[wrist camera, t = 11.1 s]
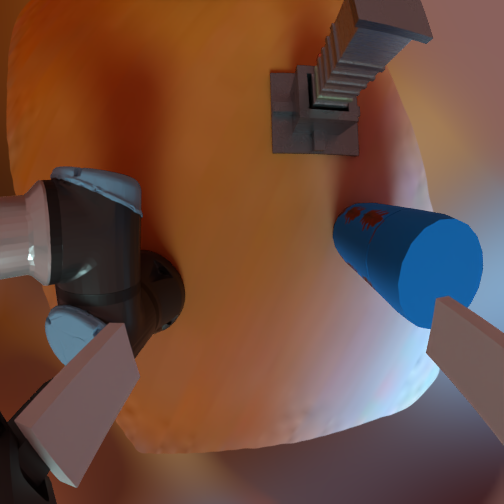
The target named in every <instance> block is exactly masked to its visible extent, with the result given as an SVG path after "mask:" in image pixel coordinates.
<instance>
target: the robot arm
mask: <svg viewBox="0 0 504 504" xmlns="http://www.w3.org/2000/svg"><path fill="white" fill-rule="evenodd" d="M50 178H51V180H38V181H37V182H36V183H35V184H34V185H33V186H32V187H31V189H30V190H29V191H28V192H27V193H26V194H24V195H18V196H6V197H0V279H4V278H10V277H16V276H22V275H31V276H33V277H34V278H35V279H36V280H38V281H39V282H40V283H41V284H43V285H52V284H55V288H56V296H57V303H58V306H55V307H54V308H52V309H51V311H50V313H49V316H48V317H47V319H46V323H45V331H46V336H47V339H48V341H49V344H50V346H51V348H52V349H53V351H54V353H55V355H56V356H57V357H58V358H59V359H60V361H61V362H62V363H63V364H64V365H65V367H64V368H63V369H62V370H61V371H60V372H59V373H58V374H57V375H56V376H55V377H54V378H52V379H51V380H49V381H47V382H45V383H44V384H43V385H42V386H41V387H40V388H39V389H38V390H37V391H36V393H34V394H33V396H32V397H30V400H28V401H27V402H26V403H25V404H24V405H23V406H22V407H21V408H20V409H19V410H18V411H17V412H16V414H15V415H14V416H13V417H12V418H11V419H10V420H9V421H8V422H6V420H5V418H4V417H3V415H2V414H1V412H0V504H57V503H56V499H55V495H54V492H53V488H52V483H51V481H50V479H49V477H48V476H47V474H48V472H49V471H50V470H51V471H52V473H53V474H54V475H55V476H56V477H57V478H58V479H59V480H60V481H62V482H64V483H66V484H69V485H71V486H74V487H76V488H77V487H78V485H79V483H80V481H81V479H82V477H83V476H84V474H85V472H86V470H87V468H88V466H89V465H90V463H91V461H92V459H93V457H94V456H95V454H96V452H97V450H98V449H99V447H100V445H101V443H102V441H103V440H104V438H105V436H106V434H107V432H108V431H109V429H110V427H111V425H112V424H113V422H114V420H115V419H116V417H117V415H118V413H119V412H120V410H121V408H122V407H123V405H124V403H125V401H126V400H127V398H128V396H129V395H130V393H131V391H132V390H133V388H134V386H135V384H136V383H137V381H138V379H139V378H140V375H139V372H138V369H137V365H136V362H135V358H136V356H137V355H138V354H139V352H140V351H141V349H142V348H143V347H144V345H145V344H146V343H147V341H148V340H149V339H150V337H151V336H152V334H155V333H158V332H160V331H163V330H165V329H167V328H168V327H170V326H171V325H172V324H173V323H174V322H175V321H176V319H177V318H178V316H179V315H180V313H181V311H182V309H183V306H184V302H185V290H184V285H183V282H182V279H181V277H180V275H179V273H178V272H177V270H176V269H175V267H174V266H173V265H172V264H171V263H170V262H169V261H168V260H167V259H165V258H164V257H162V256H161V255H159V254H157V253H154V252H151V251H146V250H140V238H141V218H142V217H143V213H142V211H141V187H140V185H139V183H138V182H137V181H136V180H135V179H134V178H132V177H130V176H127V175H124V174H119V173H115V172H110V171H105V170H98V169H91V168H82V169H81V168H76V167H56V168H55V169H54V170H53V172H52V174H51V177H50ZM426 353H427V354H428V356H429V357H430V358H431V359H432V360H433V361H434V362H435V363H436V364H437V366H438V367H439V368H440V369H441V370H442V371H443V372H444V373H445V375H446V376H447V377H448V378H449V379H450V380H451V381H452V383H453V384H454V385H455V386H456V387H457V388H458V389H459V390H460V392H461V393H462V394H463V395H464V397H465V398H466V399H467V400H468V401H469V403H470V404H471V405H472V406H473V407H474V409H475V410H476V411H477V412H478V414H479V415H480V416H481V417H482V419H483V420H484V421H485V422H486V423H487V425H488V426H489V427H490V429H491V430H492V431H493V432H494V434H495V435H496V436H497V438H498V439H499V440H500V442H501V443H502V444H503V445H504V333H503V332H501V331H500V330H499V329H497V328H496V327H494V326H493V325H491V324H490V323H488V322H487V321H486V320H484V319H483V318H481V317H480V316H478V315H477V314H475V313H474V312H472V311H471V310H469V309H468V308H466V307H465V306H463V305H462V304H460V303H459V302H457V301H456V300H454V299H453V298H451V297H450V296H446V297H440V298H436V301H435V308H434V314H433V320H432V326H431V331H430V336H429V341H428V346H427V351H426Z"/></svg>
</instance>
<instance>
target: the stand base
mask: <svg viewBox="0 0 504 504" xmlns="http://www.w3.org/2000/svg"><path fill="white" fill-rule="evenodd" d="M320 56H321V54H318V57H320ZM318 57H317V59H318ZM317 59H316V62H317ZM313 73H314V66H304V65H297V67H296V71H295V73H270V81H271V110H272V147H273V153H288V154H327V155H346V156H359V145H358V127H357V122H358V117H360V107H358V106H357V97H356V96H355V97H354V98H353V101H352V102H349V103H348V104H347V107H346V108H343V109H342V110H341V111H334V110H319V109H311V95H310V81H311V74H313Z"/></svg>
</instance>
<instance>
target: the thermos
mask: <svg viewBox="0 0 504 504" xmlns="http://www.w3.org/2000/svg"><path fill="white" fill-rule="evenodd" d="M333 239H334V244H335V247H336V249H337V251H338V252H339V254H340V255H341V257H342V258H343V259H344V260H345V262H346V263H347V264H348V265H350V266H351V267H352V268H353V269H354V270H355V271H356V272H357V273H358V274H359V275H360V276H361V277H362V278H363V279H364V280H365V281H366V282H368V283H369V284H370V285H371V286H372V287H373V288H374V289H375V290H376V291H377V292H378V293H379V294H380V295H381V296H382V297H383V298H384V299H385V300H386V301H387V302H388V303H389V304H390V305H391V306H392V307H393V308H394V309H395V310H396V311H397V312H398V313H400V314H401V315H402V316H403V317H405V318H406V319H407V320H409V321H410V322H412V323H413V324H415V325H416V326H418V327H422V328H427V329H431V326H432V320H433V314H434V308H435V301H436V298H440V297H446V296H450V297H451V298H453V299H454V300H456V301H457V302H459V303H460V304H462V305H463V306H465V307H466V308H467V307H468V306H469V305H470V304H471V302H472V300H473V298H474V296H475V294H476V292H477V290H478V288H479V284H480V280H481V276H482V271H483V257H482V256H483V255H482V249H481V246H480V243H479V240H478V237H477V236H476V234H475V233H474V232H473V231H472V229H471V228H470V227H469V225H467V224H465V223H463V222H461V221H459V220H457V219H455V218H452V217H450V216H448V215H445V214H441V213H435V212H429V211H424V210H418V209H411V208H405V207H399V206H392V205H385V204H378V203H358V204H354V205H352V206H350V207H347V208H346V209H345V210H344V211H343V212H342V213H341V214H340V215H339V216H338V218H337V220H336V223H335V225H334V231H333Z"/></svg>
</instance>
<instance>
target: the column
mask: <svg viewBox="0 0 504 504" xmlns="http://www.w3.org/2000/svg"><path fill="white" fill-rule="evenodd" d="M330 30H331V32H330V35H329V36H327V37H326V39H325V42H326V44H325V47H322V49H321V56H320V57H318V59H317V66H314V73H313V74H311V81H310V95H311V109H319V110H334V111H341V110H342V109H343V108H346V107H347V104H348V103H349V102H352V101H353V98H354V97H355V96H358V95H359V94H360V93H359V92H360V91H361V90H362V89H365V88H366V87H367V83H368V82H369V81H374V80H375V75H376V74H377V73H378V72H383V71H384V70H385V65H386V64H387V63H388V62H390V60H392V59H393V58H394V56H396V55H397V54H398V53H399V52H400V51H401V50H402V49H403V48H404V47H405V46H406V45H407V44H408V43H409V42H410V41H411V40H415V41H419V42H422V43H425V44H427V43H428V42H429V41H430V40H432V39H433V36H432V33H431V29H430V26H429V23H428V20H427V17H426V14H425V11H424V9H423V6H422V3H421V1H420V0H344V2H343V4H342V6H341V9H340V11H339V13H338V16H337V18H336V21H335V23H332V24H331V27H330Z"/></svg>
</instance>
